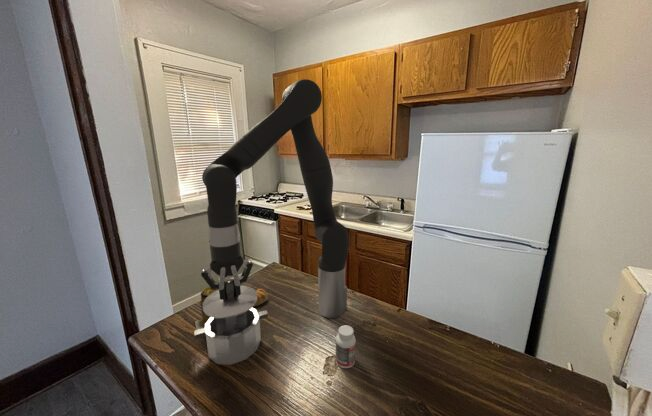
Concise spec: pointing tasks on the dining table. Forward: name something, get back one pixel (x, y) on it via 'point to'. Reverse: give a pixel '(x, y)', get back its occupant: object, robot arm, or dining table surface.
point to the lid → (229, 301)
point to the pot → (232, 336)
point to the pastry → (261, 297)
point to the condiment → (204, 295)
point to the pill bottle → (345, 347)
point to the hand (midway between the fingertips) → (230, 297)
